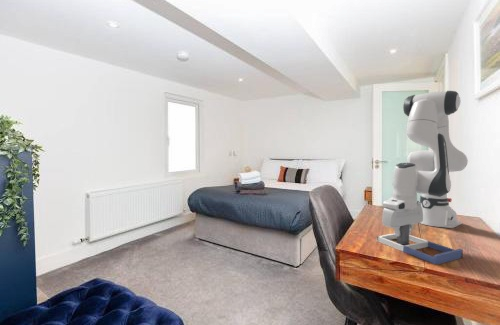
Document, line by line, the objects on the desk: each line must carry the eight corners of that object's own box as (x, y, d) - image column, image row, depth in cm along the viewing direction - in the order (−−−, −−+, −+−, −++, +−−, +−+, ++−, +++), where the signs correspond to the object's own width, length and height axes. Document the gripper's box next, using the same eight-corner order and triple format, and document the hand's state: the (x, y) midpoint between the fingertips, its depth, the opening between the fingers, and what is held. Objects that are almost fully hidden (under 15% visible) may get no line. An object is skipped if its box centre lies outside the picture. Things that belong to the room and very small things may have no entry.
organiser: (400, 236, 115) (401, 229, 114) (462, 257, 92) (462, 249, 92) (376, 241, 109) (376, 234, 109) (436, 264, 87) (436, 256, 86)
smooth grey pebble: (401, 239, 109) (402, 221, 108) (411, 243, 105) (412, 224, 104) (394, 241, 107) (394, 222, 107) (404, 245, 103) (404, 225, 103)
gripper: (413, 198, 112) (412, 229, 113) (380, 202, 104) (378, 235, 105) (428, 201, 106) (426, 234, 107) (394, 206, 98) (392, 241, 99)
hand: (402, 235), depth 106 cm, fingers closed on smooth grey pebble, 4 cm apart
